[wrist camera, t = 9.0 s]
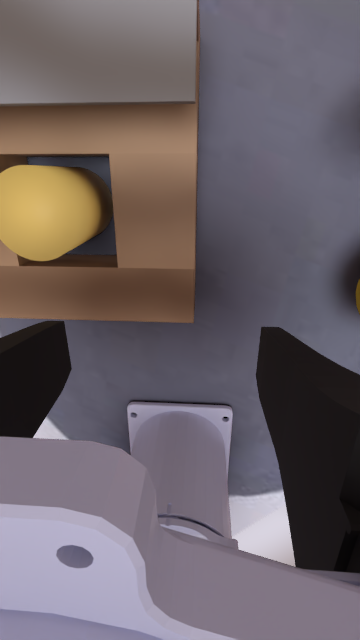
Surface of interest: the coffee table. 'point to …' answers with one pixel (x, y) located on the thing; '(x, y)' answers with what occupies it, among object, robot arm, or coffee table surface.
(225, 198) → the coffee table surface
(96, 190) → the peg
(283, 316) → the coffee table surface
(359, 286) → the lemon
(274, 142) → the coffee table surface
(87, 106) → the porch socket
